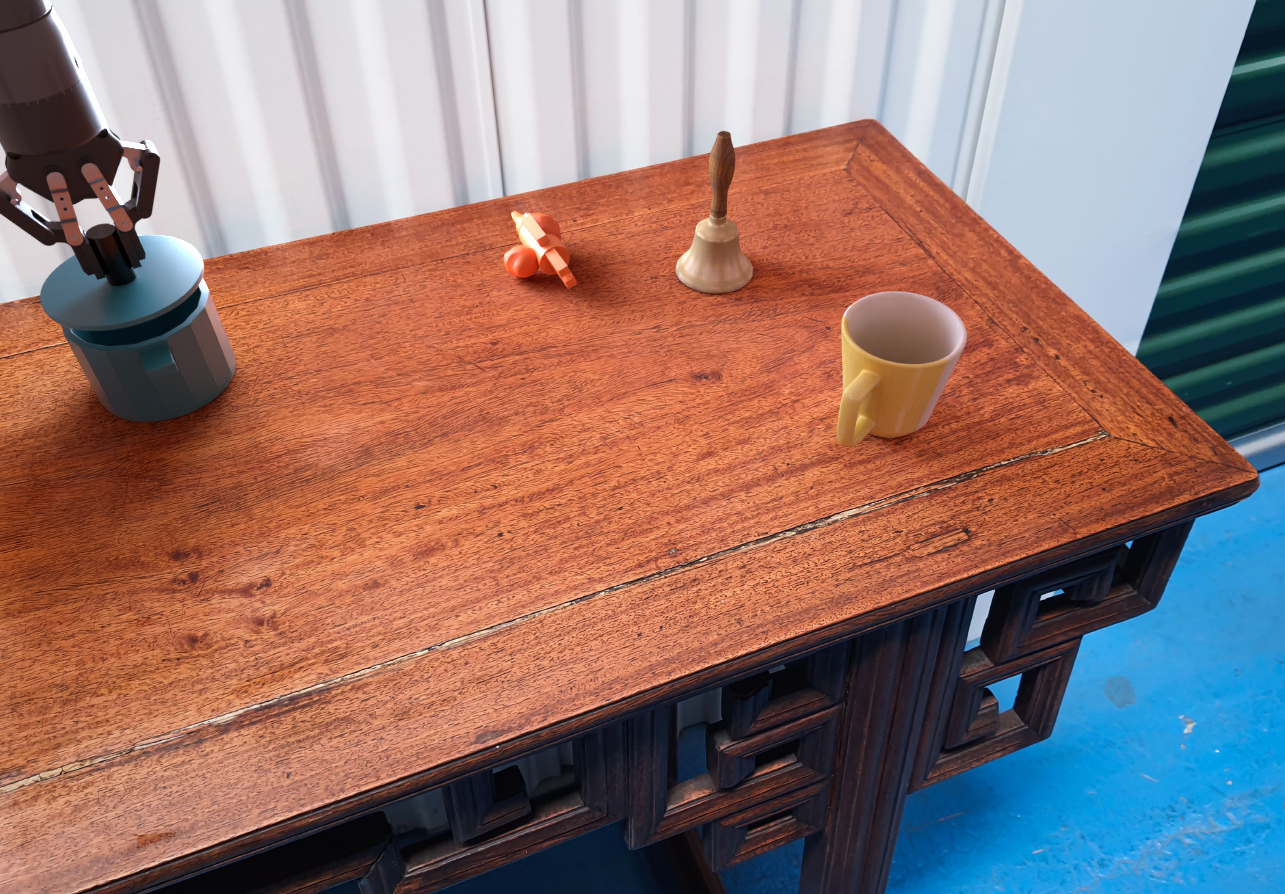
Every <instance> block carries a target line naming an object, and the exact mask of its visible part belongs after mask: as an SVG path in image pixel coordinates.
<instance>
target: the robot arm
mask: <svg viewBox="0 0 1285 894" xmlns="http://www.w3.org/2000/svg"><path fill="white" fill-rule="evenodd" d="M82 64H83V63H82V60H81V58H80V56H79V54H78V53H77V51H76V48H75V46H74V44H73V41H72V39H71V37H70V34H69V33H68V31H67V29H66V28H65V26H64V24H63V22H62V21H61V19H60V17H59V15H58V14H57V12H56V11H55V8H54V6H53V4H52V2H51V0H0V145H1V147H2V150H3V152H4V154H5V159H4V166H5V171H4V172H2V173H1V174H0V215H1V216H3V217H4V218H5V219H6V220H8V221H9V222H11V223H12V224H14V226H17V227H18V228H19V229H20V230H23V231H24V232H25V233H26V234H28V235H29V236H31V238H34V239H35V240H36V241H38V242H39V243H40V244H42V245H44V246H46V247H51V246H54V245H56V244H58V243H59V244H65V245H68V246H69V247H70V248H71V250H72V251H73V253H74V255H76V257H77V259H78V261H79V263H80V265H81V267H82V270H83V272H85V273H86V274H87V275H88V276H89V275H92V274H95V276H96V278H97V280H99V279H102V278H106V276H105V274H104V272H103V270H102V268H101V266H100V264H99V261H98V259H97V257H96V255H95V253H94V251H93V249H92V247H91V245H90V243H89V241H88V239H87V237H86V232H87V231H86V230H82V228H81V226H80V224H79V221H78V217H77V214H76V211H75V208H74V205H77V204H78V203H80V202H82V201H84V200H94V199H95V200H97V199H98V200H99V202H100V204H101V205H102V207H103V208H104V210H105V211H106V212H107V214H108V215H109V217H110V219H111V220H112V221H113V222H112V223H113V225H114V226H115V227H116V230H117V233H118V235H119V238H120V240H121V242H122V244H123V246H124V249H125V251H126V253H127V255H128V257H129V259H130V262H131V264H132V266H133V268H134V269H136V268H139V267H142V265H141V263H140V260H143V259H145V256H146V253H145V251H144V248H143V246H142V244H141V241H140V239H139V237H138V235H139V234H138V232H137V230H136V225H137V223H138V222H140V221H141V220H147V219H149V218H151V216H152V215H153V210H154V203H155V198H156V191H157V183H158V177H159V171H160V164H161V157H160V155H159V153H158V151H157V149H156V147H155V145H154V142H152V141H151V140H148V139H143V140H141V141H139V143H135V142H129V141H122V140H121V138H120V137H119V136H118V134H117V133H115V132H114V131H112V129H110V127H109V126H108V124H107V122H106V119H105V116H104V114H103V112H102V110H101V108H100V105H99V102H98V100H97V98H96V95H95V93H94V91H93V88H92V86H91V84H90V81H89V79H88V76H87V74H86V72H85V70H84V67H83V65H82ZM123 158H125V159H127V163H128V165H129V168H130V169H131V170H132V171H133V179H132V185H131V193H130V199H128V200H127V201H126V202H124V203H123V201H122V200H121V197H120V196H119V195H118V193H117V191H116V189H115V188H114V183H115V180H116V178H117V174H118V173H119V172H118V171H119V170H120V165H121V163H122V160H123ZM18 185H20V186H22V187H23V188H25V189H27V190H29V191H30V192H33V193H34V194H36V195H38V196H40V197H41V198H43V199H45V200H47V201H49V202H51V203H53V204H54V206H55V209H56V212H57V215H58V219H59V220H50V219H48V218H47V217H46V216H44V215H43V214H42V213H41V212H39V211H37V210H36V209H35V208H33V207H32V206H31V205H29V204H28V203H27V202H25V201H24V200H23V198H22V194H21V191H20V189H19V188H18Z"/></svg>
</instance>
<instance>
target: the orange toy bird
mask: <svg viewBox="0 0 1285 894" xmlns="http://www.w3.org/2000/svg"><path fill="white" fill-rule="evenodd" d="M510 214H511V218H512V220H513V222H514V223H515V228H516V233H517V235H518V238H519V240H520V242H521V243H522V245H521V244H519V245H514V246H513V247H512V248H511V249H509V250H508V251H507V252H505V253H504V255H503V262H504V267H505V271H507V272H508V273H509V274H511V275H512V276H514V277H519V278H528V277H531V276H533V275H535V274H536V273H537V272H538V271H539V269H540V270H541V271H542V272H543V273H544V274H546V275H550V276H551V275H552V276H553V275H558V277H559V279H560V280H561V281H562V282H563V284H564V285H565V287H566V288H567V289H568V290H570V289H571V288H573V287H575V286H576V285H578V282H577V280H576V278H575V276H574V274H573V273H572V272H571V270H570V267H568V265H569V263H570V260H571V254H570V252H569V250H568V248H567V247H566V246H565V244H564V243H562V241H561V240H562V232H561V227H560V224H559V222H558V221H557V220H556V219H554V218H553V217H552V216H550V215H548V214H545V213H543V212H532V213H530V212H525V213H520V212H518V211H516V210H513V211H512V212H511V213H510Z"/></svg>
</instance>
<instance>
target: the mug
mask: <svg viewBox="0 0 1285 894" xmlns="http://www.w3.org/2000/svg"><path fill="white" fill-rule="evenodd" d="M840 327H841V329H840V331H841V333H840V334H841V336H840V337H841V339H840V340H841V364H842V395H841V399H840V403H839V408H838V409H839V410H838V416H837V424H836V433H835V435H836V442H837V443H838V444H839V445H842V447H843V446H844V447H846V448H855V447H856V446H857V445H858V444H860V442H862V441H863V440H864V439H865V438H866V436H868V435H869V434H870V435H872V436H875V437H878V438H885V439H895V438H900V437H904V436H906V435H909V434H912V433H915V432H917V431H919V430H920V429H922V428H923V427H924V426H925V425H926V424H927V423H928V421H930V418H931V416H932V414H933V412H934V410H935V407H936V406H937V403H938V401H939V400H940V398H941V396H942V395H943V394H942V393H943V392H944V389H945V388H946V385H947V383H948V381H949V380H950V378H951V376H952V374H953V372H954V370H955V368H956V366H957V364H958V362H959V360H960V357H961V355H962V353H963V351H964V349H965V347H966V345H967V340H968V333H967V328H966V326H965V323H964V322H963V320H962V319H961V317H960V316H959V315H958V314H957V313H956V312H955V311H954V310H953V309H952V308H951V307H949V306H948V305H946V304H944V303H943V302H942V301H939V300H937V299H934V298H932V297H930V296H926V295H922V294H920V293H914V292H908V291H894V290H893V291H892V290H891V291H881V292H875V293H872V294H869V295H866V296H863V297H861V298H859V299H856V301H854V302H853V303H851V304H850V305H849V306H848V308H847V309H846V310H845V312H844V314H843V316H842V318H841V325H840Z"/></svg>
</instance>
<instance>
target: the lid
mask: <svg viewBox="0 0 1285 894" xmlns="http://www.w3.org/2000/svg"><path fill="white" fill-rule="evenodd" d="M85 232H86V237H87V239H88V241H89V243H90V245H91V247H92V249H93V251H94V253H95V255H96V257H97V259H98V261H99V264H100V266H101V268H102V270H103V272H104V274H105V276H106V278H102V279H99V280H97V278H96V276H95V274H92V275H89V276H88V275H87V274H86V273H85V272H83V270H82V267H81V265H80V263H79V261H78V259H77V257H76V255H75V254H74V255H72V256H70V257H69V258H67V259H66V260H64V261H63V262H62V263H60V264H59V265H58V266H57V267H55V269H54V270H53V271H51V273H50V274H49V275H48V276H47V277H46V279H45V281H44V282H43V283H42V285H41V289H40V294H39V301H40V305H41V307H42V309H43V311H44V313H45V314H46V315H47V317H48V318H49V319H51V320H52V321H53V322H55V323H56V324H58V325H60V326H61V325H63V326H65V327H68V328H72V329H77V330H85V331H105V330H114V329H120V328H125V327H130V326H134V325H137V324H141V323H144V322H146V321H149V320H152V319H154V318H156V317H159V316H161V315H163V314H165V313H167V312H169V311H171V310H172V309H174V308H175V307H177V306H178V305H180V304H181V303H182V302H184V301H185V300H186V299H187V298H188V297H189V296H190V295H191V294H193V292H194V291H195V290H196V289H197V287H198V286H199V284H200V282H201V280H202V278H203V277H204V274H205V263H204V261H203V258H202V255H201V254H200V252H199V250H197V248H195V247H194V246H193V245H192V244H191V243H189V242H187V241H185V240H183V239H179V238H177V237H174V236H168V235H162V234H161V235H159V234H140V235H139V234H137V235H138V237H139V239H140V241H141V244H142V246H143V248H144V251H145V253H146V256H145V259H143V260H140V263H141V265H142V267H139V268H136V269H134V268H133V266H132V264H131V262H130V259H129V257H128V255H127V253H126V251H125V249H124V246H123V244H122V242H121V240H120V238H119V235H118V233H117V230H116V227H115V225H114V223H113V224H112V223H109V222H108V223H107V222H106V223H105V222H104V223H99V224H96V225H93V226H91V227H89V228H88V229H87V230H86V231H85ZM203 279H204V278H203Z"/></svg>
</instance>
